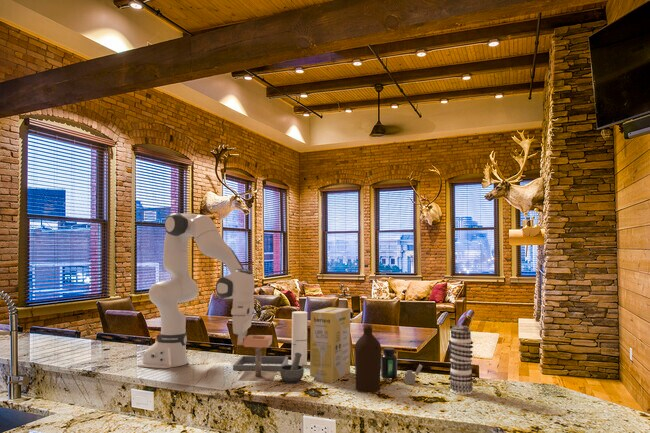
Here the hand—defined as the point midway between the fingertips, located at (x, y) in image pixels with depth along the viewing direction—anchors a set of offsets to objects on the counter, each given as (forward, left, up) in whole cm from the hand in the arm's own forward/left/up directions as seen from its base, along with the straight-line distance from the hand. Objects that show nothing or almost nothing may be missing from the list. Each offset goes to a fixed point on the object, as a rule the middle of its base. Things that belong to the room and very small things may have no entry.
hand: (242, 341), depth 198 cm
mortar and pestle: (+22, -6, -16) cm, 28 cm away
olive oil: (+52, -10, -16) cm, 55 cm away
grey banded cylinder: (+88, -11, -16) cm, 90 cm away
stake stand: (+7, 0, -16) cm, 17 cm away
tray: (+5, +18, -16) cm, 24 cm away
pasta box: (+37, +8, -16) cm, 41 cm away
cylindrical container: (+22, +22, -16) cm, 35 cm away
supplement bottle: (+62, +8, -16) cm, 64 cm away
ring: (+5, 0, -1) cm, 5 cm away
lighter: (+71, -2, -16) cm, 73 cm away
